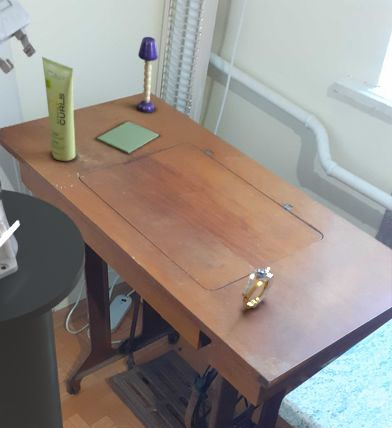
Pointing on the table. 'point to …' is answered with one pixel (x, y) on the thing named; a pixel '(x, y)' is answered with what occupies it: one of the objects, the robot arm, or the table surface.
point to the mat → (128, 137)
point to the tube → (60, 108)
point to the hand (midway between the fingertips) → (22, 62)
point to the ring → (267, 286)
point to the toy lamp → (147, 71)
